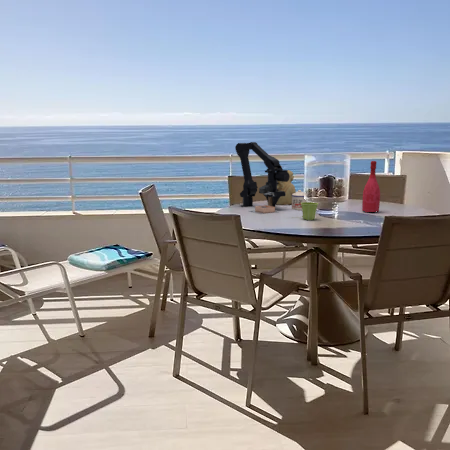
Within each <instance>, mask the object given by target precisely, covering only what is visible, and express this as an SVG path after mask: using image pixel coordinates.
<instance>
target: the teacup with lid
mask: <svg viewBox="0 0 450 450" xmlns="http://www.w3.org/2000/svg"><path fill="white" fill-rule="evenodd" d="M304 194H305V192H303V191H302V190H301V189H299V190H297V191H296V193H294V194H292V204H291V210H295V211H302V206H301V203H302V202H307V199H306V200H305V199H304Z"/></svg>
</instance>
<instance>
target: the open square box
mask: <svg viewBox="0 0 450 450" xmlns="http://www.w3.org/2000/svg"><path fill="white" fill-rule="evenodd" d="M254 209H255V211H256V212H260V213H268V214H274V213H273V212H275V211H276V206H275V207H272V206H268V204H267V205H265V204H264V205H254Z"/></svg>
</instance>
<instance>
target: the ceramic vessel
mask: <svg viewBox="0 0 450 450" xmlns="http://www.w3.org/2000/svg"><path fill="white" fill-rule="evenodd" d="M281 167H282V168H283V166H282V165H281ZM287 170H288V173H289V175H290V178H289V180H288V182H282V181H277V182H279V184H277V189H279V191H285V193H286V196H281V197H280V198H279V200H278V202H277V203H276V205H277V206H280V205H282V206H289V205H292V194H294V193H296V192H297V191H296V186H295V185H294V184H293V183H292V182H293V181H294V172H293V171H292V170H289V169H287ZM273 193H274V192H273ZM273 195H274V194H273Z"/></svg>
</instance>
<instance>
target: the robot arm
mask: <svg viewBox="0 0 450 450" xmlns="http://www.w3.org/2000/svg"><path fill="white" fill-rule="evenodd" d="M234 147H235V152H236V154H237V156H238V157H239V159H240V164H241V170H242V174H243V181H244V182H243V185H242V191H241V192H240V193H239V196H240V198H242V204H241V205H240V207H243V208H251V207H254V204H253V203H254V198H253V197H255V196H256V194H257V192H258V194H262V196H264V197H265V199H266V201H267V203H268V197H272V202H273V207H275V208H276V206H277V204H276V203H277V202H278V200H279V198H280V197H281V196H286V193H285V191H279V189H277V184H279V182H277V181H282V182H288V180H289V178H290V175H289V173H288V170H289V169H283V166H282V165H281V164H280V160H279V159H277V158H276V157H274V156H272V155H271V154H268V153H267V151H265V150H264V149H263V148H262V147H261V146H260V145H259V144H258V142H256V141H251V142H238V143H237V144H236V145H235V146H234ZM250 150H251V151H252V152H254V153H255V154H256V156H258V157H259V158H260V159H261V160H262V161H263V163H264V165H265V167H266V170H264V173H267V181H266V182H265V184H264V185H262V186H260V187H258V183H257V181H254V180H253V175H252V171H251V163H250V160H249V159H250V158H249V154H250ZM281 166H282V167H281ZM273 192H274V193H273ZM273 194H274V195H273Z"/></svg>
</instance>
